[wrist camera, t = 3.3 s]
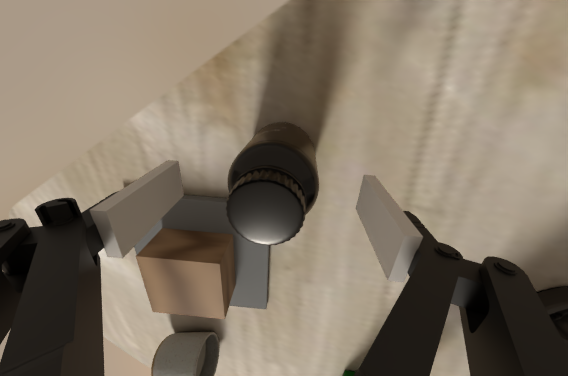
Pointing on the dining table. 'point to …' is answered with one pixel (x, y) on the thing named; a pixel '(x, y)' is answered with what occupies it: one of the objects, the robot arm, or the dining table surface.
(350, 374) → the milk carton
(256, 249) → the mat
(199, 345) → the ceramic mug
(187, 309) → the walnut block
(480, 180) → the dining table surface
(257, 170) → the supplement bottle
